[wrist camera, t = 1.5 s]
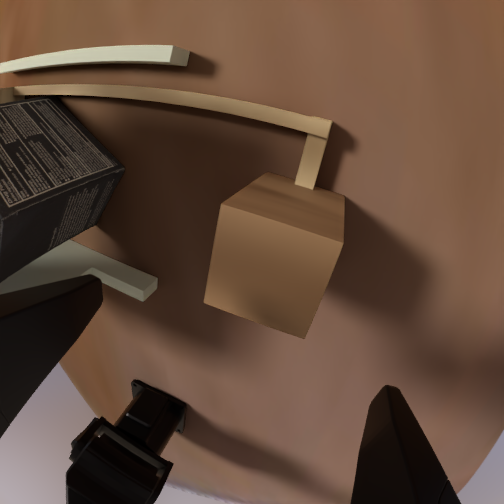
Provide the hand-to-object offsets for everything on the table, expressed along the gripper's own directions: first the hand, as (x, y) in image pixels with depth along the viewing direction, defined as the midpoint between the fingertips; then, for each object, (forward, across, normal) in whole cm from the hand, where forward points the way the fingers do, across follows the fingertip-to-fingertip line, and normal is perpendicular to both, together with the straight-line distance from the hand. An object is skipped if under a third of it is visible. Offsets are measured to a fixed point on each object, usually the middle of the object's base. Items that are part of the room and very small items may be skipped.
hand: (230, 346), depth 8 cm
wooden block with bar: (+11, +12, 0) cm, 17 cm away
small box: (+11, +18, 0) cm, 21 cm away
